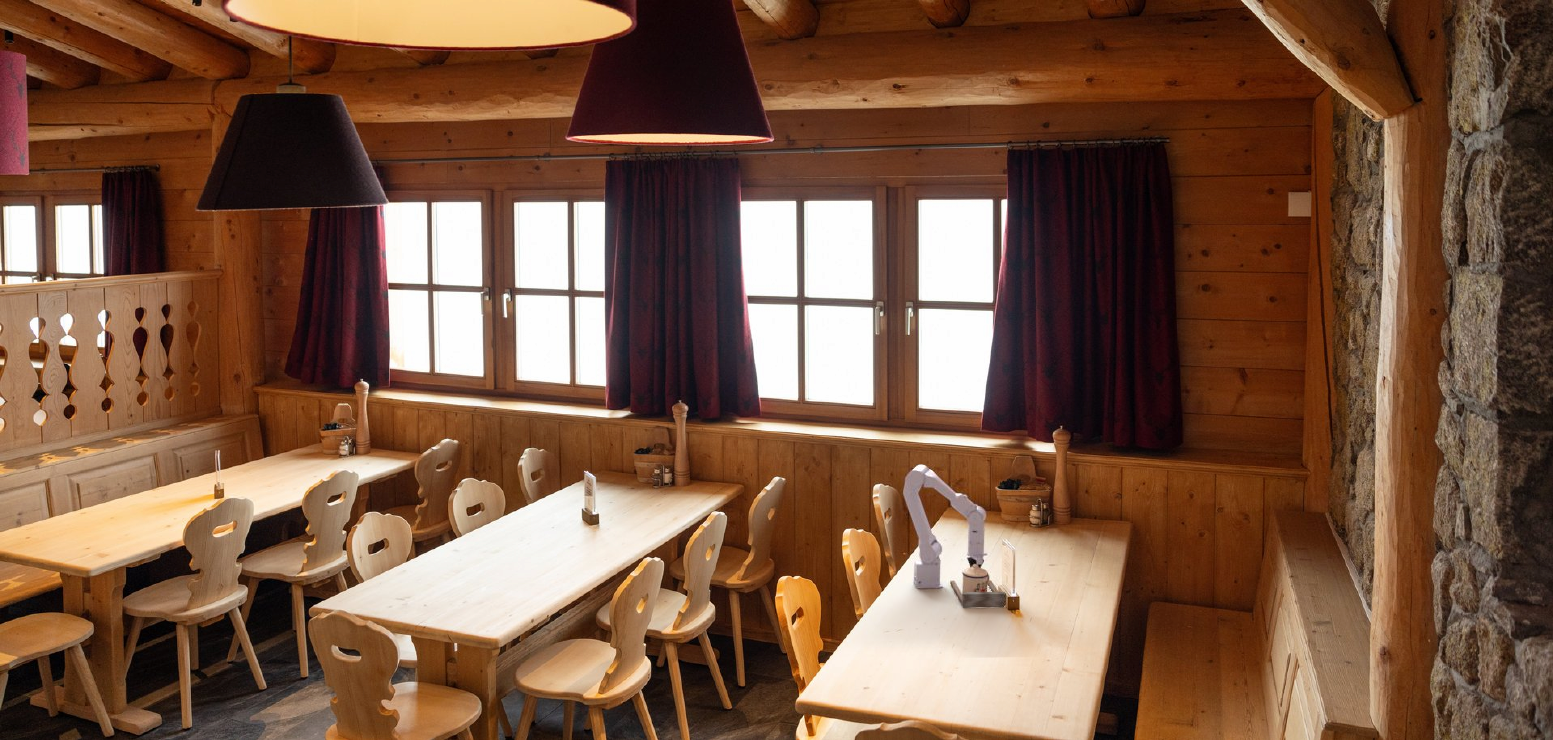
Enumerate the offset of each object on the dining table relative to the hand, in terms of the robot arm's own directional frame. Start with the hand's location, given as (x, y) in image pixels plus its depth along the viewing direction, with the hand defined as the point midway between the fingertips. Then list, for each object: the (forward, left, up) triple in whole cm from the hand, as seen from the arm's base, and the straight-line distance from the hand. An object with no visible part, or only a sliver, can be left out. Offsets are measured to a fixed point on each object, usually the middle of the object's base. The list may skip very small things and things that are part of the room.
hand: (975, 577), depth 427 cm
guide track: (0, -4, -5) cm, 7 cm away
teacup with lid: (0, -5, -5) cm, 7 cm away
